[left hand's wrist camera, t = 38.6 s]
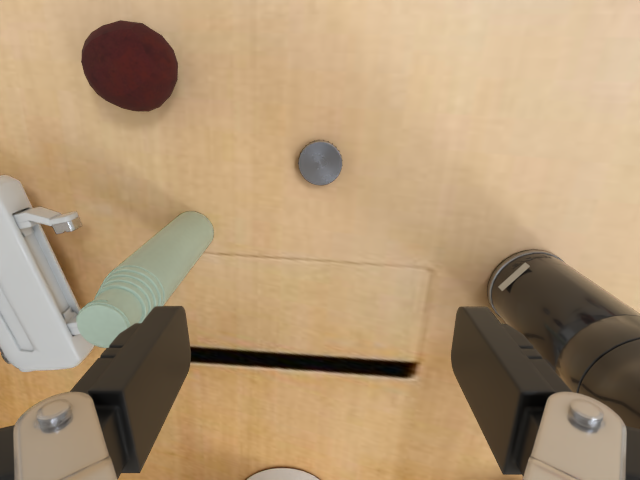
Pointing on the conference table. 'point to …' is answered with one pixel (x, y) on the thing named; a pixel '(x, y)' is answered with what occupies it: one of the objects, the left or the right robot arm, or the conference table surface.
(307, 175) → the cap
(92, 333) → the bottle
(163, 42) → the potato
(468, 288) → the conference table surface
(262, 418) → the conference table surface
